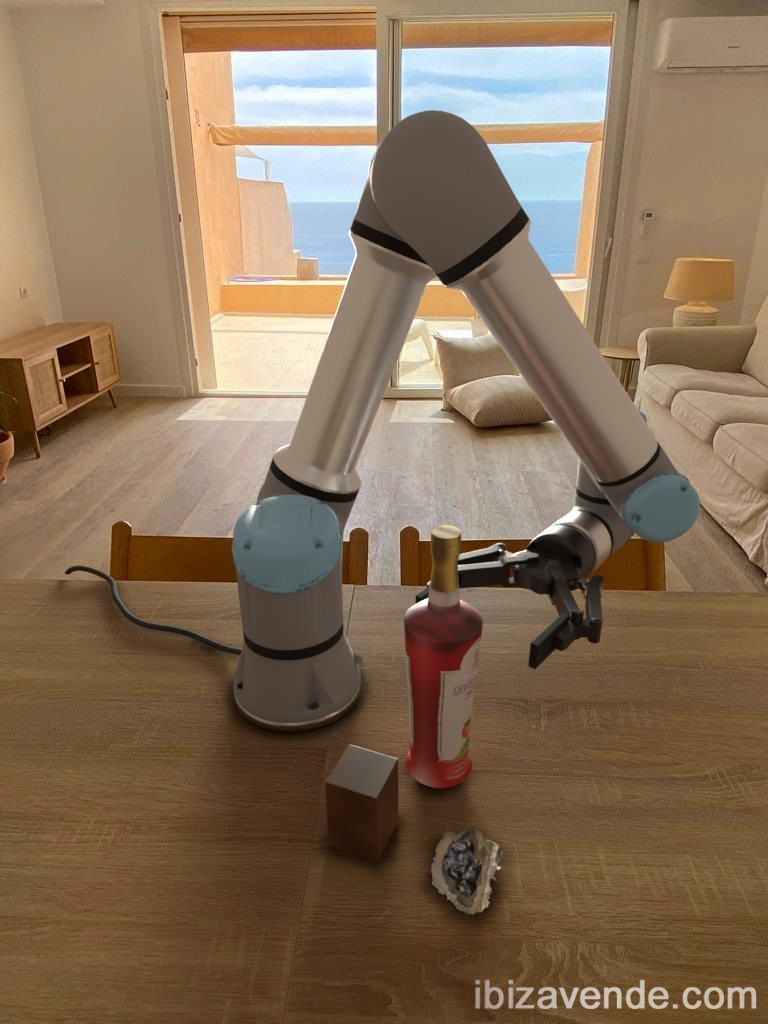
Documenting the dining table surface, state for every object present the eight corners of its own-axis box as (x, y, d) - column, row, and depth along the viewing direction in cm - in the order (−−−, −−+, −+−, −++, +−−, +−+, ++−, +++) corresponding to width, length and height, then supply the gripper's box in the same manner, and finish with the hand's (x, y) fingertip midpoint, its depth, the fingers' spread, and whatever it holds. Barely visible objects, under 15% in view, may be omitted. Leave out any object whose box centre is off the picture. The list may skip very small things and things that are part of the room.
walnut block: (328, 845, 64) (324, 781, 61) (351, 805, 69) (348, 743, 65) (378, 864, 63) (376, 798, 59) (398, 821, 67) (398, 758, 63)
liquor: (427, 736, 77) (432, 507, 65) (486, 764, 73) (503, 526, 61) (389, 778, 72) (387, 536, 60) (450, 810, 68) (462, 559, 56)
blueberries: (498, 834, 65) (499, 819, 65) (515, 914, 58) (516, 899, 57) (427, 835, 65) (427, 821, 64) (434, 916, 58) (435, 901, 57)
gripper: (665, 614, 79) (584, 713, 64) (478, 549, 93) (377, 618, 79) (676, 556, 76) (594, 645, 61) (481, 498, 90) (376, 560, 75)
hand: (472, 630), depth 70 cm, fingers open, 13 cm apart
